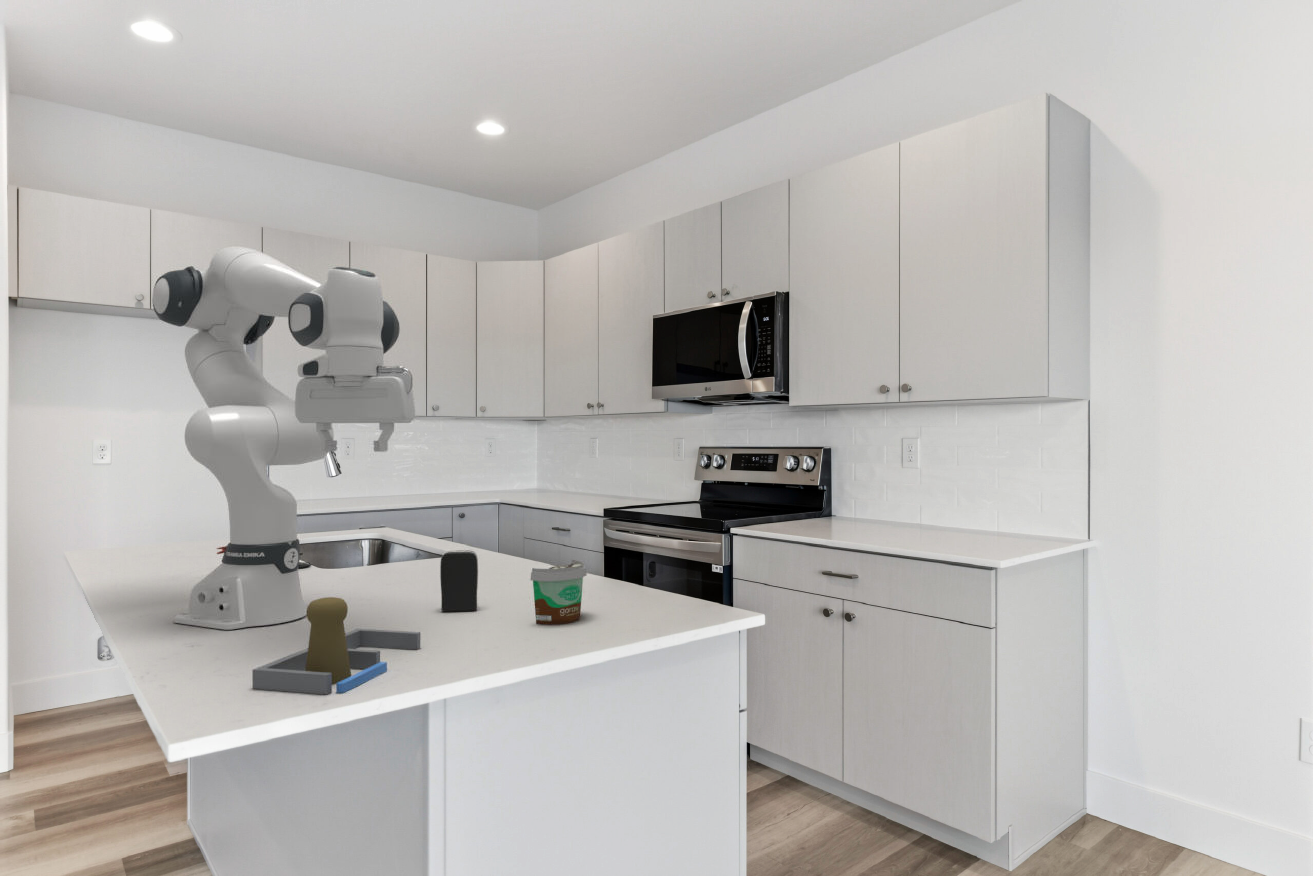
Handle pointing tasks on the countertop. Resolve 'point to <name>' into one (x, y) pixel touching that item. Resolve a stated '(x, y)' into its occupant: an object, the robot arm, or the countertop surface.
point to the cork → (328, 638)
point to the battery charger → (459, 581)
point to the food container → (558, 593)
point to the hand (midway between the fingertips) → (355, 451)
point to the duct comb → (294, 678)
